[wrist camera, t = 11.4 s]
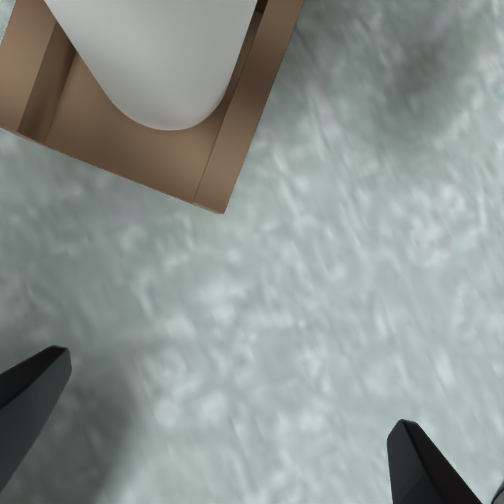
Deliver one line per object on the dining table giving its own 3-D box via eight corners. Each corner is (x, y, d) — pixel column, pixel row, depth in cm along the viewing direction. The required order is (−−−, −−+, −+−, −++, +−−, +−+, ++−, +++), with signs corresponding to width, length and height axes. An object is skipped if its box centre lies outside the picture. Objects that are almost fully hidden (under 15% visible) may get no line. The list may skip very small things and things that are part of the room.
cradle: (217, 213, 18) (224, 213, 15) (17, 135, 16) (-24, 115, 13) (293, 11, 18) (317, -33, 15) (101, -100, 16) (79, -182, 12)
